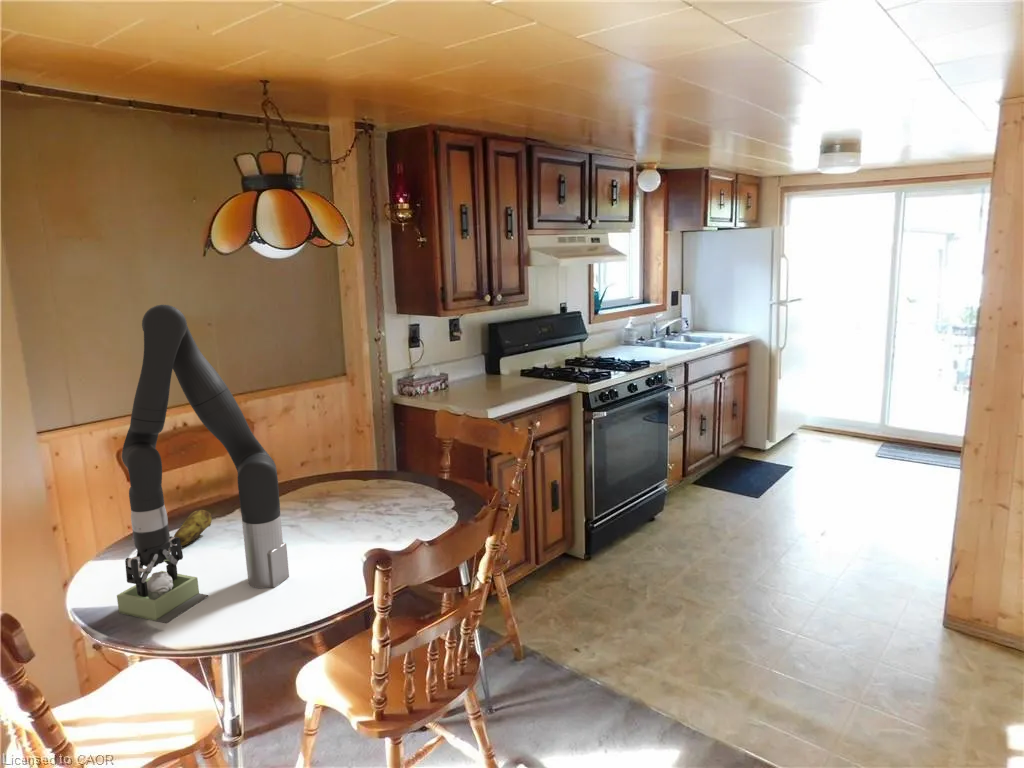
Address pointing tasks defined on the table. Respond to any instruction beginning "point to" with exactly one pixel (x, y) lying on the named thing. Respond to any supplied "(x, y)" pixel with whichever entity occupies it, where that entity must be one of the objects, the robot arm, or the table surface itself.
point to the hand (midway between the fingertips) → (158, 587)
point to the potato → (193, 526)
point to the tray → (162, 600)
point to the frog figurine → (159, 585)
